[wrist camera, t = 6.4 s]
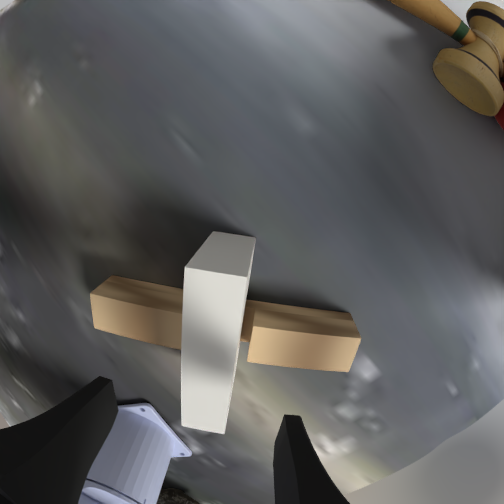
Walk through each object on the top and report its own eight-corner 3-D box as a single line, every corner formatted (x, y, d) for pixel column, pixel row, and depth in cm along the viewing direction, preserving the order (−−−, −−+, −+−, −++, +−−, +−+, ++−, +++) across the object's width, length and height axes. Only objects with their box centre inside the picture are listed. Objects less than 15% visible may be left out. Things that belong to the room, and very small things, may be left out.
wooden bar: (114, 307, 19) (94, 328, 17) (112, 275, 19) (90, 293, 16) (339, 344, 19) (348, 371, 16) (350, 313, 18) (361, 338, 16)
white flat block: (201, 365, 20) (181, 425, 15) (213, 231, 17) (184, 266, 12) (235, 371, 20) (224, 434, 15) (255, 237, 17) (247, 277, 12)
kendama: (298, 19, 14) (515, 181, 14) (302, -51, 8) (577, 171, 7) (346, -30, 13) (532, 110, 13) (359, -86, 7) (580, 88, 7)
